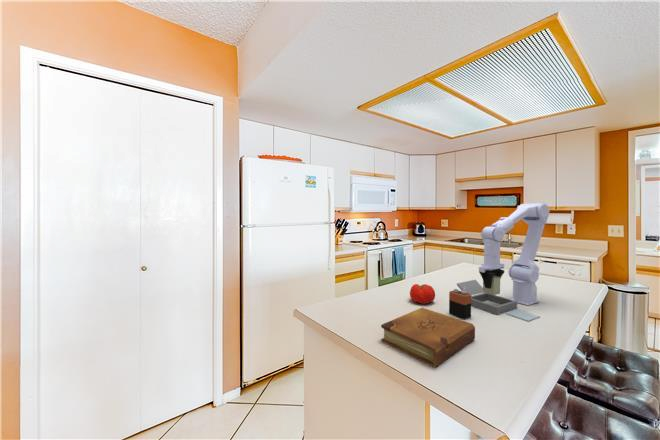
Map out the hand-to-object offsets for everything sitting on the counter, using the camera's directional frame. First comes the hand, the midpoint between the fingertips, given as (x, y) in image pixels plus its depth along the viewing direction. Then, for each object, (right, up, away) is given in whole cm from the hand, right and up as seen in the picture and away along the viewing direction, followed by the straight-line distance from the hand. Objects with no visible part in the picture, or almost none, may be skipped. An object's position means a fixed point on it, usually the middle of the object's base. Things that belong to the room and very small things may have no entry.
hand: (491, 287), depth 111 cm
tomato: (-27, -9, +7) cm, 29 cm away
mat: (+6, -9, -9) cm, 14 cm away
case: (-1, -8, +3) cm, 9 cm away
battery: (-18, -9, -9) cm, 22 cm away
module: (0, -3, 0) cm, 2 cm away
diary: (-37, -11, -28) cm, 48 cm away
